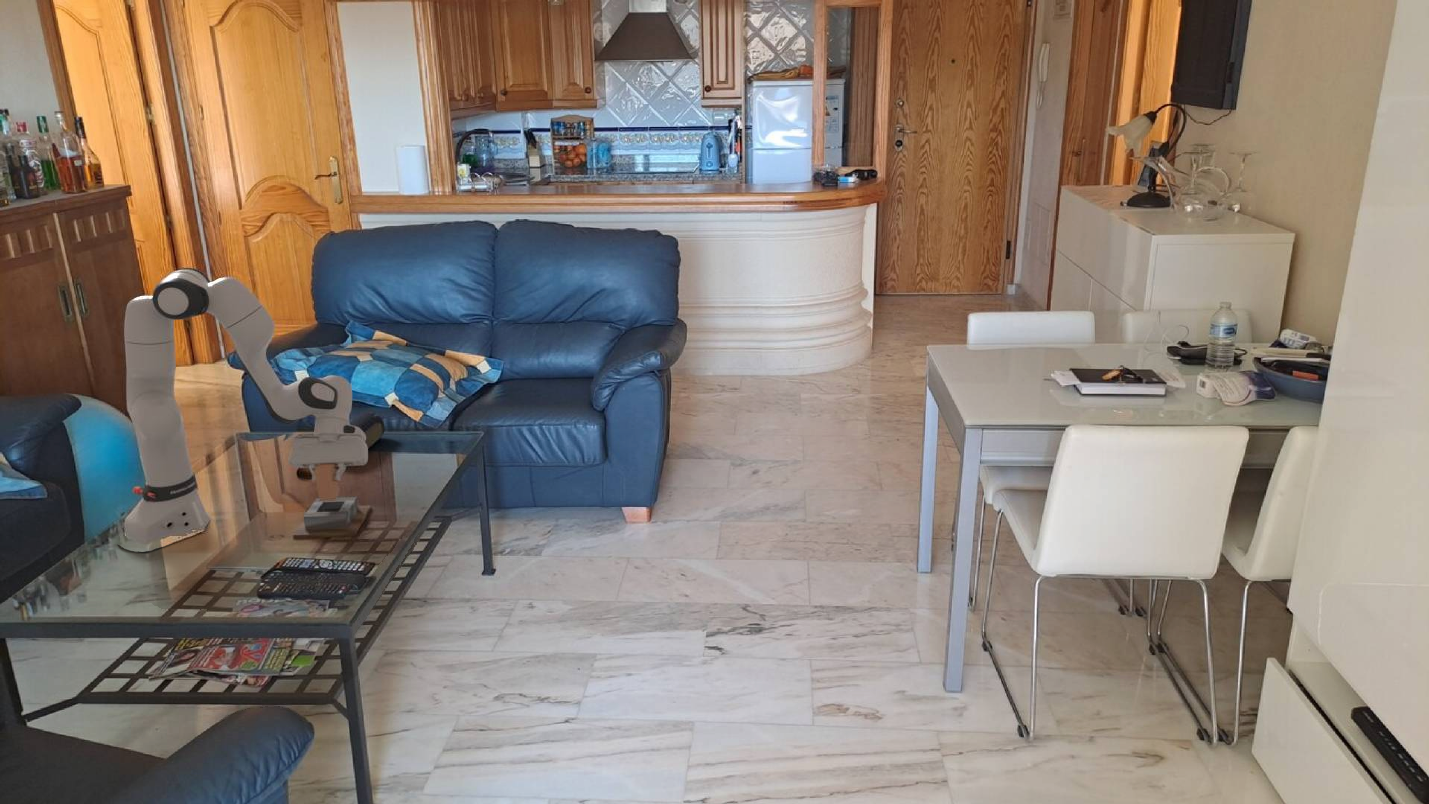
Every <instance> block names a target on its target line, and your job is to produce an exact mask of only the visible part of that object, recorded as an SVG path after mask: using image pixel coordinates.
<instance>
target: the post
mask: <svg viewBox="0 0 1429 804" xmlns="http://www.w3.org/2000/svg"><path fill="white" fill-rule="evenodd" d="M314 472H315V478H316V482H315V483H316V487H317V492H318V498H319V499H320V501H332V500H336V498H339V495H340V489H339V488H340V487H339V483H338V482H339V481H333V473H336V472H337V471H336V466H334V464H319V465H318V466H317V468H316V469H315V470H314Z"/></svg>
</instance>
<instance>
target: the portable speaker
mask: <svg viewBox="0 0 1429 804" xmlns="http://www.w3.org/2000/svg"><path fill="white" fill-rule="evenodd" d="M349 422H350V425H352V426H356V427H359V428H360V429H361V430H362V431H363V432H364V433H365V435H366V441H365V443H366V444H367V447H368V449H370V447H372V446H373V445H374V444H375V443H376V442H378V440H380V439H381V438H382V437H383V435H384V434H385V430H386V428H385V427H386V426H385V424H384V423H385V422H384V420H383V418H382V417H381V416H380V415H379V414H377V412H372V411H367V412H362V413H360V414H358V415H357V416H356V417H355V418H354V419H353V420H351V421H349Z"/></svg>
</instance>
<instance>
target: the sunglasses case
mask: <svg viewBox="0 0 1429 804" xmlns="http://www.w3.org/2000/svg"><path fill="white" fill-rule="evenodd" d="M296 477H297V478H298V479H312V473H311V471H310V469H309V467H308V468H297V470H296Z"/></svg>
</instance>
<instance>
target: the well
mask: <svg viewBox="0 0 1429 804" xmlns="http://www.w3.org/2000/svg"><path fill="white" fill-rule="evenodd" d="M371 510H372V506H371V505H359V501H358V496H352V497H351V496H350V497H349V496H348V497H337V498H336V500H332V501H320V499H319V497H318V498H316V499H315V500H314V502H313V503H312V504H311V506H310V507H309V508H308V510H307V511H306V513H305V514H304V515H303V516H302V517H303V521H302V522H301V523H300V524H299V526H298V528H297V529H296V530H295V532H294V533H293V534H292V537H293V539H311V538H312V539H314V538H338V537H339V538H341V537H355V536H357V533H358V531H359V529H360V528H361V526H362V525H363V523H364V521H366V518H367V517H368V514H369V513H370V511H371Z"/></svg>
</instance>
